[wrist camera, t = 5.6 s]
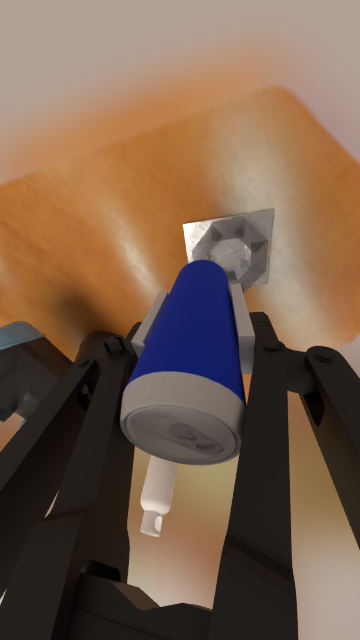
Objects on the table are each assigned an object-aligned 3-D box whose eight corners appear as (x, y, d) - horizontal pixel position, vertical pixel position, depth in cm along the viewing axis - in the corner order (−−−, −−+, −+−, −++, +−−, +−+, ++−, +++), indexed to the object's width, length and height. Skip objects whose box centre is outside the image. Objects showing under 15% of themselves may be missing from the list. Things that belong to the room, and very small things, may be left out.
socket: (192, 288, 38) (190, 298, 34) (183, 223, 32) (180, 227, 28) (266, 281, 35) (272, 291, 31) (272, 208, 29) (281, 210, 25)
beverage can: (169, 289, 20) (97, 435, 8) (194, 247, 17) (142, 373, 5) (208, 312, 21) (198, 477, 9) (238, 276, 18) (288, 444, 6)
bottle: (156, 412, 66) (126, 527, 43) (176, 409, 63) (154, 530, 40) (167, 424, 70) (145, 536, 47) (186, 422, 67) (172, 540, 44)
